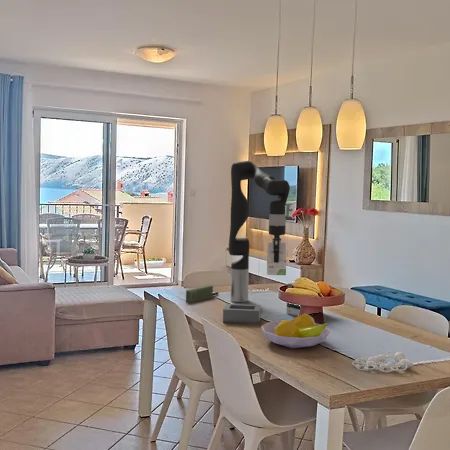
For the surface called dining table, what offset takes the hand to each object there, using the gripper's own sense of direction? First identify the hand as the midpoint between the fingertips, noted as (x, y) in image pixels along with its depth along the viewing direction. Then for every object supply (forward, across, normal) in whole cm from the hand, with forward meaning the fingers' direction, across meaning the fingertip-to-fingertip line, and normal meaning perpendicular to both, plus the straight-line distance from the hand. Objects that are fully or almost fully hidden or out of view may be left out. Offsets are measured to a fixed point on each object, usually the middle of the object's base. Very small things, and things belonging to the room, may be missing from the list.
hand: (276, 261), depth 255 cm
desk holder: (+27, +3, -15) cm, 31 cm away
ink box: (+6, 0, 0) cm, 6 cm away
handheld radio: (+28, -39, -40) cm, 63 cm away
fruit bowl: (+27, +36, +10) cm, 46 cm away
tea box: (+28, -16, +13) cm, 34 cm away
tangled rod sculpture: (+27, +60, +40) cm, 77 cm away
